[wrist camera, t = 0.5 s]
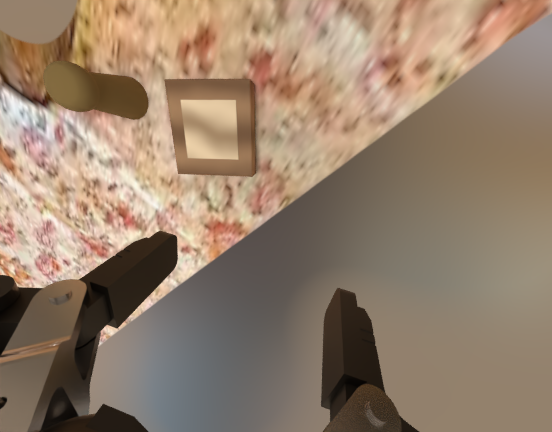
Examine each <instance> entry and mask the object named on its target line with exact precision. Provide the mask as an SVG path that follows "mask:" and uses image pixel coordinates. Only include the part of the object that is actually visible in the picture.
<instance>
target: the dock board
mask: <svg viewBox="0 0 552 432" xmlns="http://www.w3.org/2000/svg"><path fill="white" fill-rule="evenodd" d="M165 86H166V93H167V100H168V107H169V114H170V121H171V128H172V135H173V142H174V148H175V155H176V162H177V169H178V174H197V175H223V176H249V177H252V176H253V175H254V174H255V173H256V156H255V97H254V83H253V82H252V81H251V80H250V79H167V80H165Z"/></svg>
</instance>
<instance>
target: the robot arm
mask: <svg viewBox="0 0 552 432" xmlns="http://www.w3.org/2000/svg"><path fill="white" fill-rule="evenodd" d="M177 260H178V255H177V237H176V236H175V235H173V234H170V233H166V232H163V231H158V232H157V233H155V234H154V235H153V236H151V237H150V238H143V239H141V240H138V241H135V242H133V243H132V244H130V245H129V246H127V247H126V248H124V250H121V251H120V252H119V253H117V254H116V255H115V256H113V257H111V258H110V259H108V260H107V261H105V262H104V263H103V264H101V265H100V266H98V267H97V268H95V269H94V270H92V271H91V272H89V273H88V274H87V275H85V276H84V277H82V278H81V279H79V280H75V279H69V280H62V281H59V282H55V283H53V284H50V285H48V286H46V287H45V288H22V287H17V285H16V283H15V281H14V279H13V278H12V277H9V276H5V275H0V432H148V431H147V430H146V429H145V428H144V427H143V426H142V425H141V423H139V422H138V421H137V419H136V418H135V417H133V416H131V415H129V414H126V413H124V412H122V411H119V410H117V409H114V408H112V407H109V406H107V405H105V404H103V405H102V406H101V408H100V409H99V410H98V412H97V413H96V414H89V406H90V382H91V377H92V372H93V368H94V363H95V358H96V354H97V349H98V345H99V340H100V336H101V332H100V331H101V330H102V329H103V328H104V327H105V326H106V325H109V326H112V327H115V328H118V327H119V326H120V325H121V324H122V323H123V322H124V321H125V320H126V319H127V318H128V317H129V316H130V315H131V314H132V313H133V312H134V311H135V310H136V309H137V307H138V306H139V305H140V304H141V303H142V302H143V301H144V300H145V299H146V298H147V297H148V296H149V295H150V294H151V293H152V292H153V291H154V290H155V289H156V288H157V287H158V286H159V285H160V284H161V283H162V282H163V280H164V279H165V278H166V277H167V276H168V275H169V274H170V273H171V272H172V271H173V270H174V268H175V266H176V264H177ZM322 366H323V367H322V396H321V406H322V407H324V408H327V409H330V423H329V424H328V425H327V427H326V428H325V429H324V431H323V432H419V431H417V430H416V429H415V428H413V427H412V426H411V425H409V424H408V423H407V422H406V421H404V420H403V419H402V418H401V417H400V415H399V413H398V411H397V409H396V407H395V405H394V403H393V402H392V401H391V399H390V398H389V397H388V396H387V395H386V393H385V390H384V385H383V380H382V375H381V370H380V364H379V359H378V354H377V349H376V346H375V338H374V335H373V328H372V323H371V320H370V318H369V316H368V314H367V313H366V311H365V309H363V308H360V307H357V301H356V295H355V293H353V292H350V291H346V290H343V289H340V288H337V290H336V291H335V293H334V295H333V298H332V300H331V302H330V304H329V306H328V308H327V310H326V313H325V318H324V334H323V363H322ZM88 414H89V415H88Z"/></svg>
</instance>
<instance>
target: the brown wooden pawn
mask: <svg viewBox="0 0 552 432" xmlns="http://www.w3.org/2000/svg"><path fill="white" fill-rule="evenodd" d="M43 79H44V85H45V87H46V90H47V92H48V93H49V95H50V96H51V98H52V99H53V100H54V101H55V102H57V103H58V104H59V105H61V106H63V107H64V108H66V109H69V110H72V111H76V112H85V111H90V110H92V109H95V110H99V111H102V112H106V113H110V114H114V115H118V116H121V117H125V118H129V119H133V120H135V119H140V118H141V117H143V116H144V115H145V113H146V112H147V109H148V97H147V93H146V91H145V90H144V88H143V86H142V85H141V84H140V83H139V82H138V81H137V80H135V79H133V78H130V77H126V76H118V75H110V74H101V73H93V72H88V71H87V70H85V69H83V68H82V67H80V66H79V65H77V64H74V63H71V62H67V61H56V62H53V63H51V64H49V65H48V66H47V67H46V69H45V71H44V76H43Z"/></svg>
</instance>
